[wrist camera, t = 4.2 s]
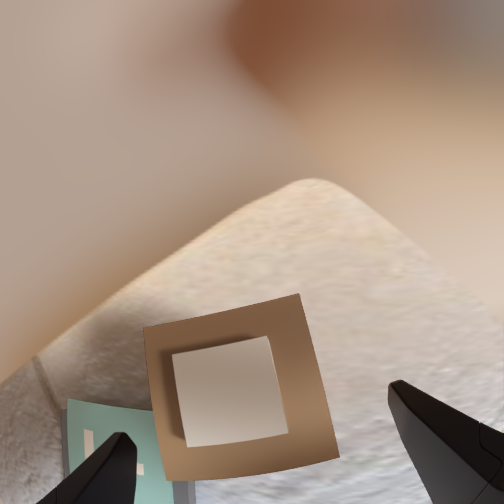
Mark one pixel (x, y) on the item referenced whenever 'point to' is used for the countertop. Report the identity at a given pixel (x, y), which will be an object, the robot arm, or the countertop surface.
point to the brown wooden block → (238, 393)
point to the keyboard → (142, 434)
